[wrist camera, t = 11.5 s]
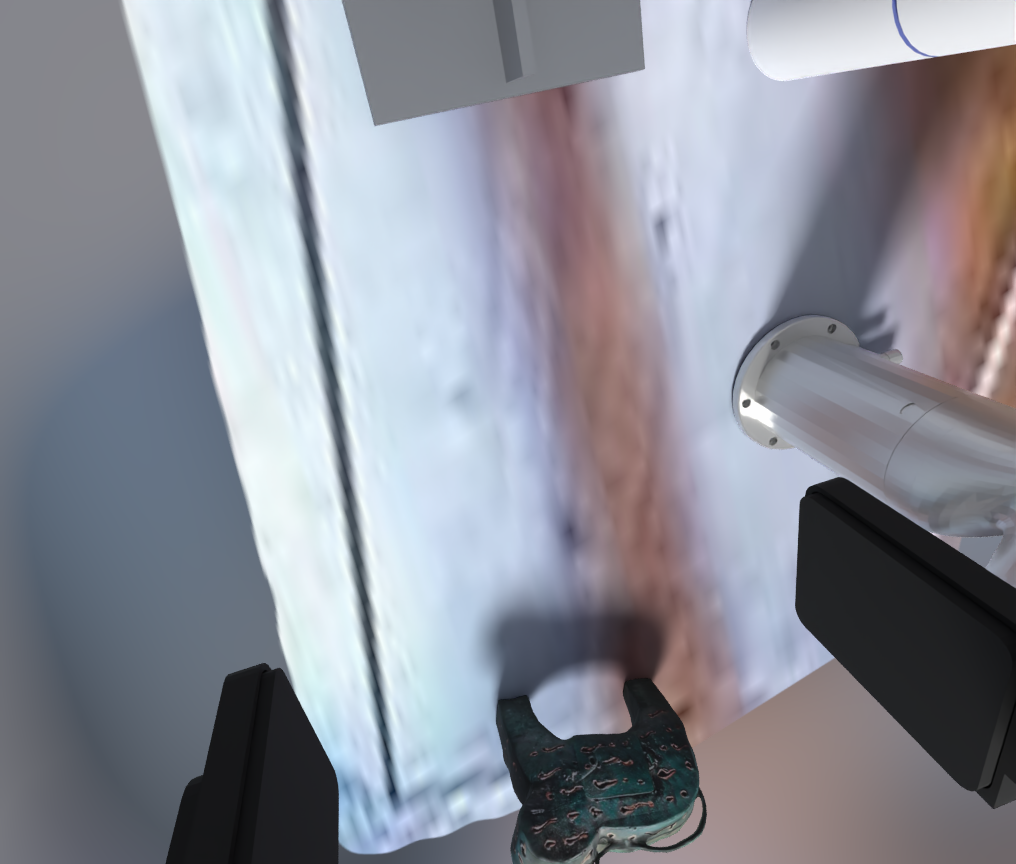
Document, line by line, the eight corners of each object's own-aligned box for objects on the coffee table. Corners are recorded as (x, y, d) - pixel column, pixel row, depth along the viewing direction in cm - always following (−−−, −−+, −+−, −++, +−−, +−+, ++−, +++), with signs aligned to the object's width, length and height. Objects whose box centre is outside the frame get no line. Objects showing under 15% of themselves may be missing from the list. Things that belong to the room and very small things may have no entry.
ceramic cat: (479, 732, 64) (531, 952, 46) (482, 687, 61) (539, 902, 44) (648, 704, 69) (754, 894, 51) (658, 662, 66) (773, 846, 49)
